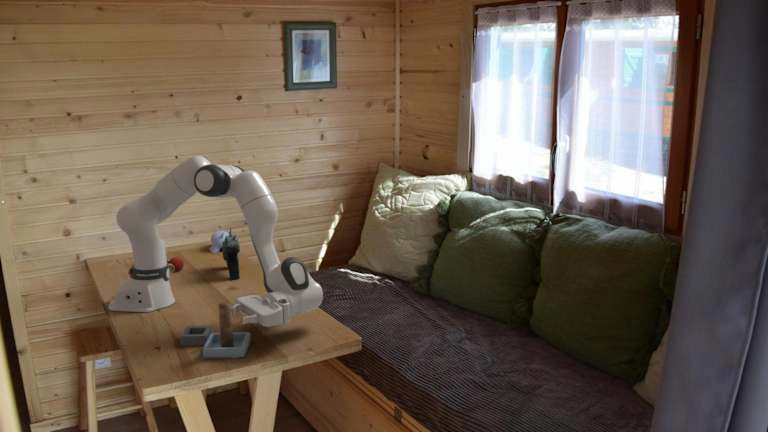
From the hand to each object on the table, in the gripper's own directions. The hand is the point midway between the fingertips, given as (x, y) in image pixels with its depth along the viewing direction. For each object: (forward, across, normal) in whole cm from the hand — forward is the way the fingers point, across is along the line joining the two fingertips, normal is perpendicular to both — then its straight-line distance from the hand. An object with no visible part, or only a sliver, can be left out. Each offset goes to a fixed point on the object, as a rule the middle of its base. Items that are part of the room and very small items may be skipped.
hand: (234, 316), depth 214 cm
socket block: (+8, -13, +10) cm, 18 cm away
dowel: (+3, 0, +10) cm, 10 cm away
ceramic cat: (-29, -68, +10) cm, 75 cm away
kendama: (-7, -86, +10) cm, 87 cm away
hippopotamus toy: (-41, -104, +10) cm, 112 cm away
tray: (+3, 0, +10) cm, 11 cm away
